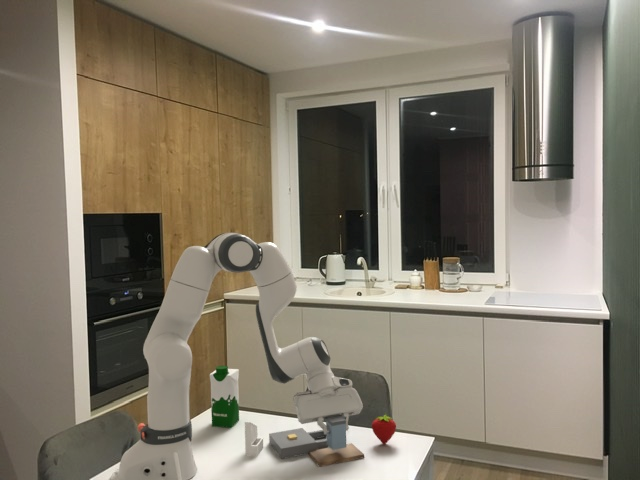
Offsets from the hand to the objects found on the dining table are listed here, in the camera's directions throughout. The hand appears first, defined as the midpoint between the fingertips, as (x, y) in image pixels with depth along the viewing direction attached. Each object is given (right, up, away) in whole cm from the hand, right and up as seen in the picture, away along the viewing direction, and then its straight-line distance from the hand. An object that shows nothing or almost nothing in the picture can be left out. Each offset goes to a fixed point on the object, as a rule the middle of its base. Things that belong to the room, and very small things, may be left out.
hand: (337, 431), depth 156 cm
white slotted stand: (-25, -8, +5) cm, 26 cm away
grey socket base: (-9, -7, +9) cm, 15 cm away
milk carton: (-37, -7, +28) cm, 47 cm away
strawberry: (+15, -7, +9) cm, 19 cm away
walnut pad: (0, -7, +1) cm, 7 cm away
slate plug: (0, -4, +1) cm, 4 cm away
